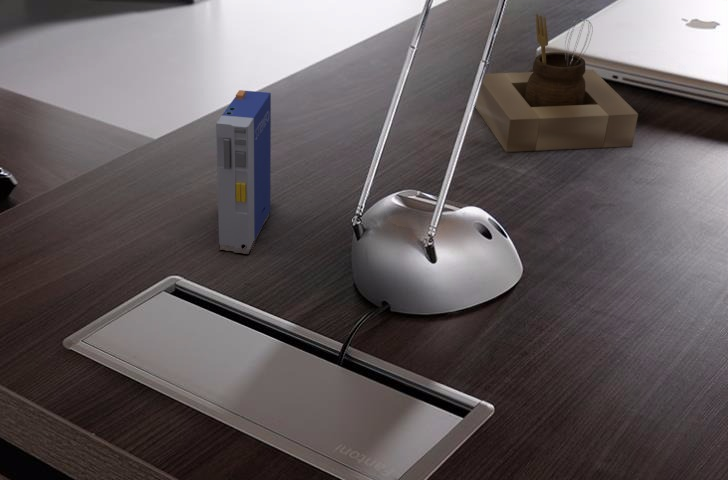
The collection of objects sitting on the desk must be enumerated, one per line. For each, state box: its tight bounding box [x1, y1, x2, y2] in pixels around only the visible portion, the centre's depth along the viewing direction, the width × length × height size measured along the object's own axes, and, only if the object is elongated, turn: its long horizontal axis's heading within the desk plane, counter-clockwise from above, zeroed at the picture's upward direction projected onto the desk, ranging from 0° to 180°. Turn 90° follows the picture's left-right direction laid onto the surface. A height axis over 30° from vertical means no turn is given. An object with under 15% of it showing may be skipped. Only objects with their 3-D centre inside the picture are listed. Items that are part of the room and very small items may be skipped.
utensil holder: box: [525, 13, 594, 107], centre depth 112 cm, size 6×6×12 cm
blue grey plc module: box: [215, 89, 272, 250], centre depth 93 cm, size 8×3×12 cm, turn 164°
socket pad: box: [474, 68, 639, 153], centre depth 114 cm, size 13×13×4 cm
